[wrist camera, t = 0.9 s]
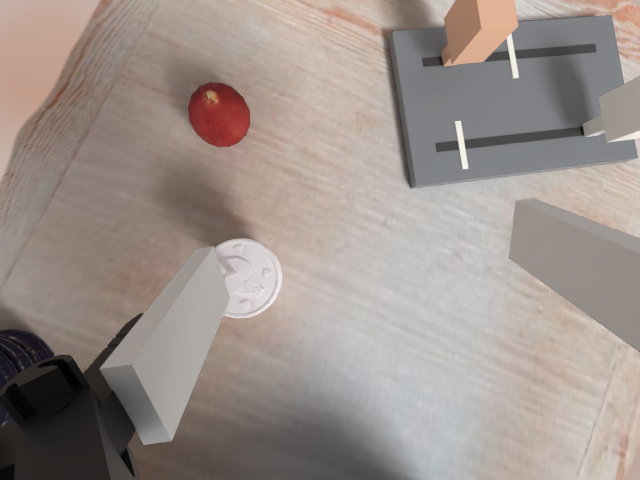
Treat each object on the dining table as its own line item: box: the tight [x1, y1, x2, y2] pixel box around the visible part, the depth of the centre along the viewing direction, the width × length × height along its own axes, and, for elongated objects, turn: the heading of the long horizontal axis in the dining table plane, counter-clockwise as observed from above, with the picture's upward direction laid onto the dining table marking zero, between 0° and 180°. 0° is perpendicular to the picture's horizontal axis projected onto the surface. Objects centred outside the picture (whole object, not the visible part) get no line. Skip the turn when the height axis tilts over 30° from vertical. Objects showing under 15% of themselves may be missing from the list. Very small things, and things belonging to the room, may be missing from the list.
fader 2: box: [583, 76, 640, 142], centre depth 32 cm, size 5×4×8 cm
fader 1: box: [441, 0, 518, 66], centre depth 30 cm, size 5×4×8 cm
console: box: [388, 15, 638, 189], centre depth 36 cm, size 18×28×2 cm, turn 98°
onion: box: [188, 82, 250, 147], centre depth 30 cm, size 6×6×8 cm
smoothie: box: [214, 238, 282, 318], centre depth 26 cm, size 6×6×14 cm
